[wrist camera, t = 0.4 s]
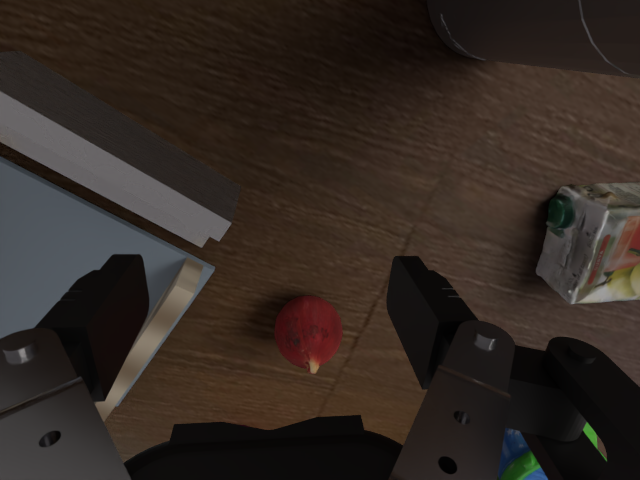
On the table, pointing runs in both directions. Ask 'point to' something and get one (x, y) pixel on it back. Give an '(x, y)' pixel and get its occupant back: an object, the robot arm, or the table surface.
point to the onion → (308, 332)
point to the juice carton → (593, 243)
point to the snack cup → (525, 457)
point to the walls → (154, 330)
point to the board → (68, 250)
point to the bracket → (110, 152)
